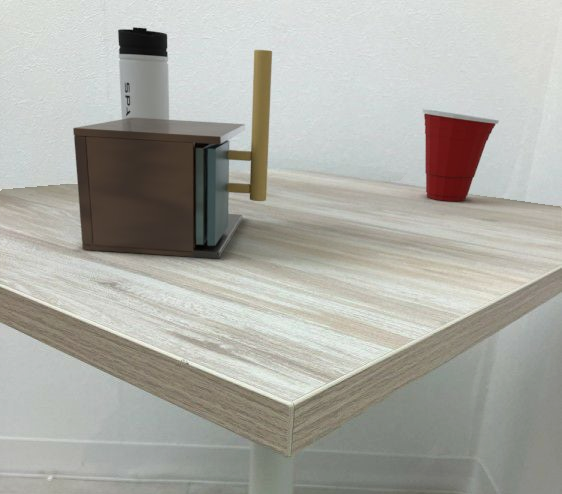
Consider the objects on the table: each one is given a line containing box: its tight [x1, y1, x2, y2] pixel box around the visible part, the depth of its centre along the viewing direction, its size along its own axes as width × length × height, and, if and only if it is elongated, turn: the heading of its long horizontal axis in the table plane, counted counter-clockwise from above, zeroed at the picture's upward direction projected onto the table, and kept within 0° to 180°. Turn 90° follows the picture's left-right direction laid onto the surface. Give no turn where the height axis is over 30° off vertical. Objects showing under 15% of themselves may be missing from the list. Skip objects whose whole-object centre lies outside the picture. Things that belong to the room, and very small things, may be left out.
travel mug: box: [117, 26, 170, 120], centre depth 86 cm, size 6×7×20 cm
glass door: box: [207, 49, 273, 246], centre depth 58 cm, size 4×8×16 cm, turn 176°
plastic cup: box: [422, 108, 500, 202], centre depth 94 cm, size 11×11×12 cm
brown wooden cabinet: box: [72, 118, 246, 260], centre depth 63 cm, size 12×18×10 cm
